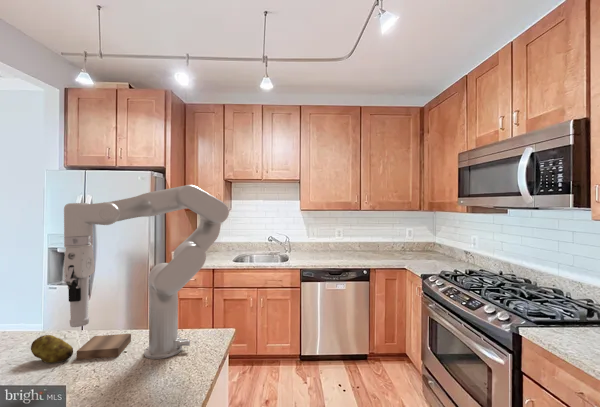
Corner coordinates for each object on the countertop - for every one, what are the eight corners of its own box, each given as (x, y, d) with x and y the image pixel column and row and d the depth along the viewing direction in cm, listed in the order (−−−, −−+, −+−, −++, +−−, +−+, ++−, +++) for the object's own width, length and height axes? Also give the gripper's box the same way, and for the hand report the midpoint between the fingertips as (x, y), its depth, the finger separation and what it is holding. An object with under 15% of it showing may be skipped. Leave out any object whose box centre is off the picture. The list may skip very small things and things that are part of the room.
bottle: (75, 321, 103) (74, 245, 103) (92, 321, 104) (91, 244, 104) (65, 328, 98) (64, 247, 98) (83, 327, 98) (82, 247, 99)
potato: (49, 369, 101) (49, 344, 101) (26, 362, 106) (26, 338, 106) (76, 358, 109) (76, 335, 109) (53, 351, 114) (53, 329, 114)
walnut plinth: (130, 341, 123) (130, 333, 123) (118, 356, 110) (118, 348, 110) (94, 344, 120) (94, 336, 120) (76, 360, 108) (76, 351, 108)
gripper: (79, 244, 93) (79, 305, 93) (102, 238, 110) (103, 290, 110) (50, 245, 92) (50, 308, 92) (78, 239, 109) (79, 292, 108)
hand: (79, 297), depth 101 cm, fingers closed on bottle, 5 cm apart
